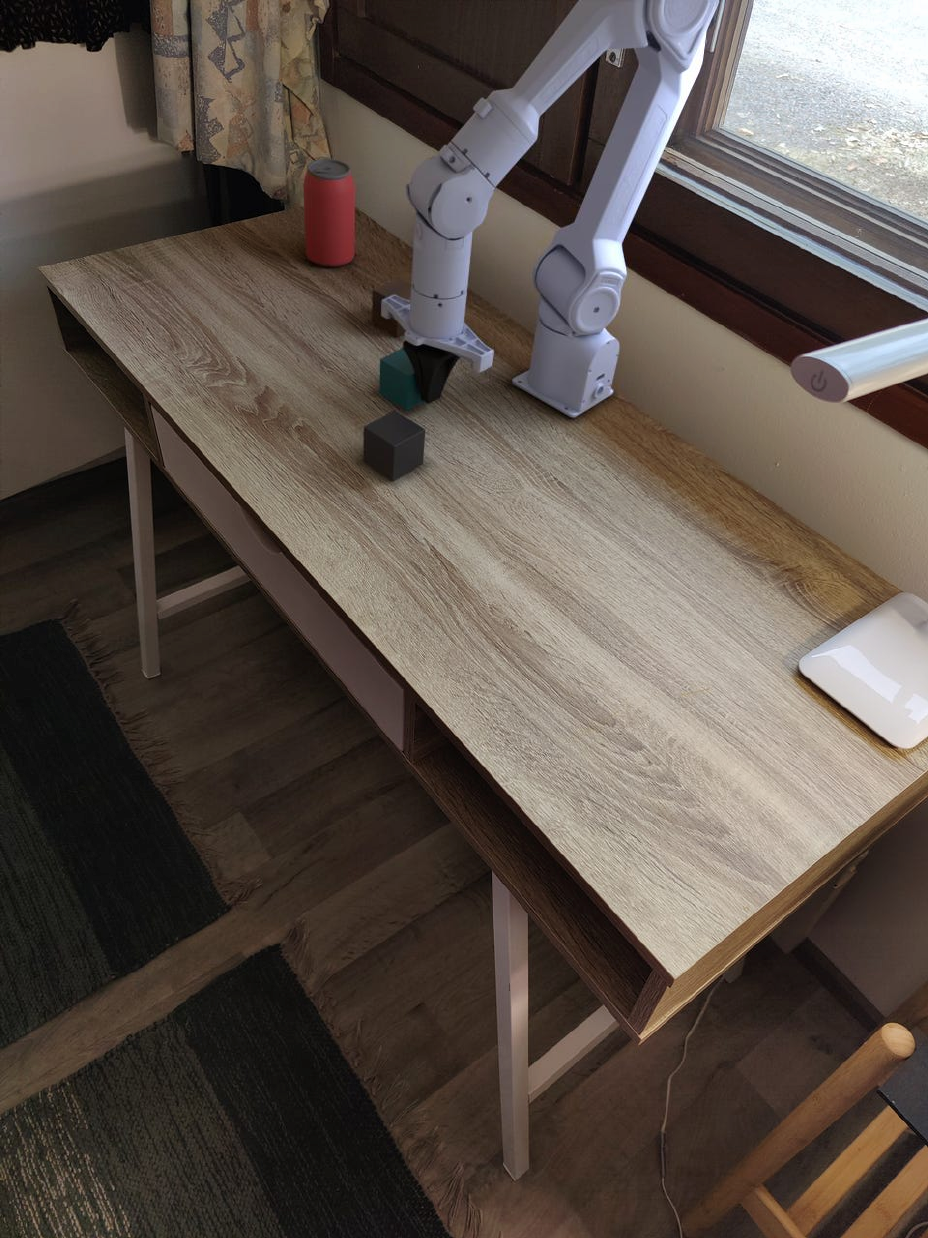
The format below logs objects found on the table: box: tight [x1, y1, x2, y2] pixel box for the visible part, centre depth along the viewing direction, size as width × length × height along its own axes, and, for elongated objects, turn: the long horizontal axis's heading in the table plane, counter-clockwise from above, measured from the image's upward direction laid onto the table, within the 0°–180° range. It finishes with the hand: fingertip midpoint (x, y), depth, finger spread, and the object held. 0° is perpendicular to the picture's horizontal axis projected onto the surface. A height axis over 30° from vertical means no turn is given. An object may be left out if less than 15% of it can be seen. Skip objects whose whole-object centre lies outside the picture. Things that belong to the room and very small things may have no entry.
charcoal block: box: [362, 409, 426, 483], centre depth 99 cm, size 4×4×4 cm
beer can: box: [302, 158, 356, 268], centre depth 126 cm, size 7×7×12 cm
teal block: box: [378, 347, 425, 412], centre depth 108 cm, size 4×4×4 cm
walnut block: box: [371, 278, 411, 338], centre depth 118 cm, size 4×4×4 cm
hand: (430, 398), depth 107 cm, fingers closed
